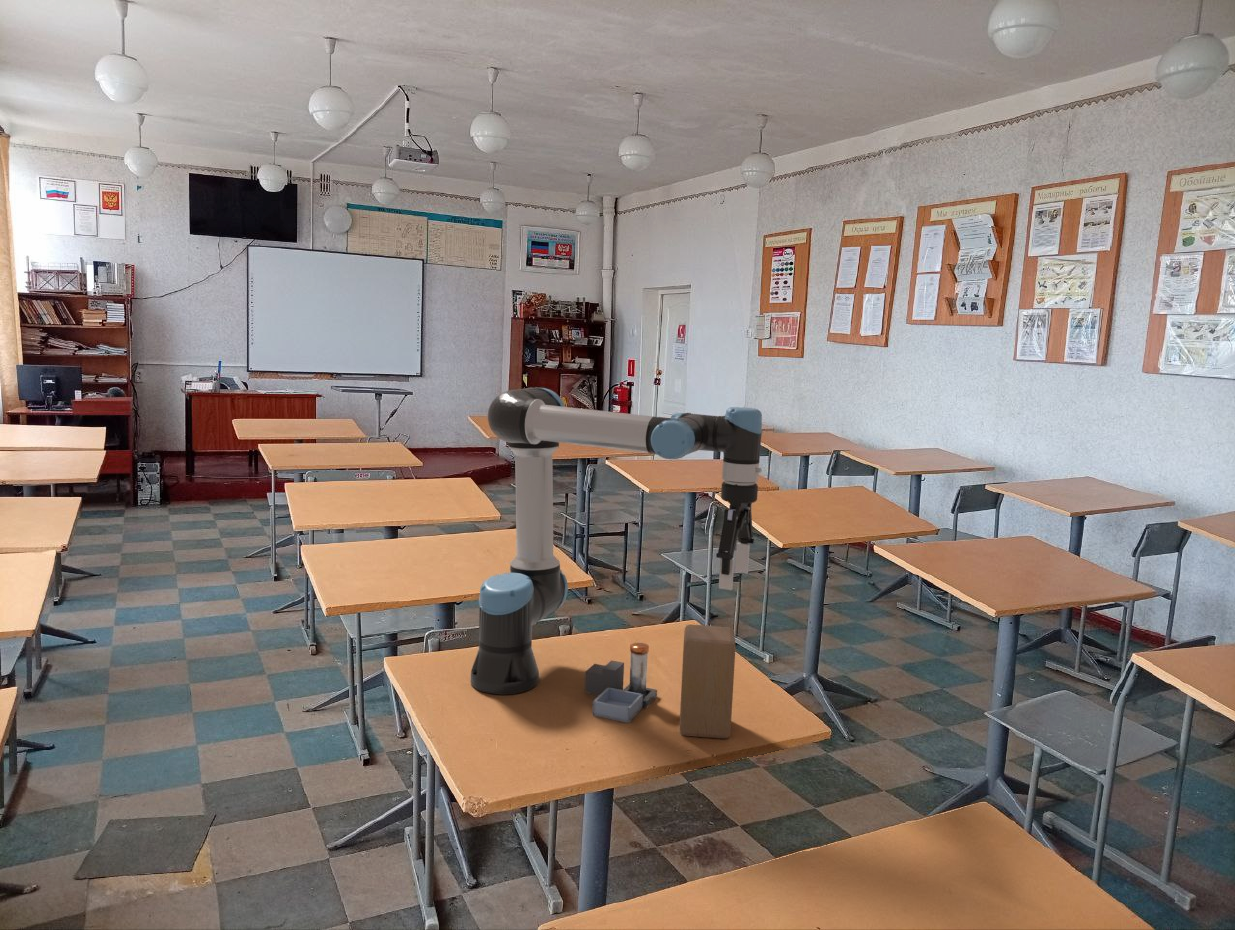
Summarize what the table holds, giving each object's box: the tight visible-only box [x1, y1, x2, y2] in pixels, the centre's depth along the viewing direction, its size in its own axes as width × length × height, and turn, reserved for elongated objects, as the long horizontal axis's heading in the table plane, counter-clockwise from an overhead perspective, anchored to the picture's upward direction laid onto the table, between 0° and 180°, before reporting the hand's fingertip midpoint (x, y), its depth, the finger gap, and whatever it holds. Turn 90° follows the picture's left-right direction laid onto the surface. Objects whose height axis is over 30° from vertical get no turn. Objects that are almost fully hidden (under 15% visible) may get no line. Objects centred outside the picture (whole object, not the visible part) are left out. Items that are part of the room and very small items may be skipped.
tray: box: [592, 687, 643, 724], centre depth 180 cm, size 8×8×3 cm
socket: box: [623, 683, 658, 709], centre depth 187 cm, size 7×7×2 cm
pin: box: [629, 642, 650, 699], centre depth 186 cm, size 4×4×12 cm
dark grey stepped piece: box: [584, 660, 625, 697], centre depth 190 cm, size 7×5×6 cm
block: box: [678, 624, 737, 739], centre depth 173 cm, size 10×10×20 cm
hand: (733, 580), depth 184 cm, fingers open, 13 cm apart
